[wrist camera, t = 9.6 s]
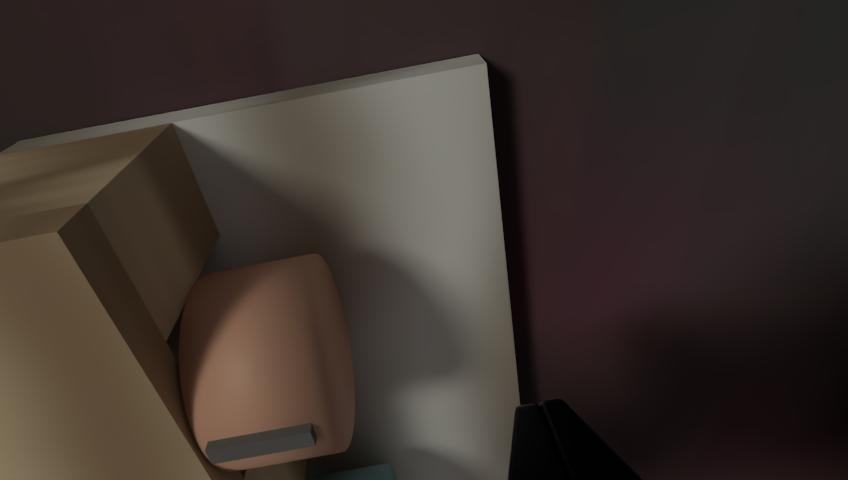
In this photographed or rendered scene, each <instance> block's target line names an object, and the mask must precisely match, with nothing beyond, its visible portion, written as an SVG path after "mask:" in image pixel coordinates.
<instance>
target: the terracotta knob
mask: <svg viewBox="0 0 848 480" xmlns="http://www.w3.org/2000/svg"><path fill="white" fill-rule="evenodd" d="M166 342H167V344H168V346H169V348H170V349H171V351H172V353H173V355H174V356H175V358H176V360H177V362H178V364H179V373H180V384H181V390H182V396H183V402H184V406H185V410H186V414H187V418H188V421H189V424H190V427H191V430H192V432H193V435H194V437H195V440H196V442H197V443H198V445H199V447H200V449H201V451H202V452H203V454H204V455H205V457H206V458H207V459H208V460H209V461H210V462H211V464H212V465H213V466H215V467H216V468H218V469H219V470H222V471H224V472H235V471H241V470H246V469H252V468H257V467H263V466H268V465H274V464H279V463H285V462H291V461H296V460H302V459H307V458H313V457H318V456H324V455H329V454H335V453H340V452H344V451H346V450H347V449H348V447H349V445H350V443H351V439H352V435H353V429H354V419H355V387H354V373H353V363H352V355H351V348H350V341H349V335H348V330H347V325H346V320H345V315H344V311H343V307H342V303H341V299H340V296H339V293H338V289H337V286H336V283H335V281H334V278H333V276H332V273H331V271H330V269H329V267H328V265H327V263H326V262H325V260H324V259H323V258H322V257H321V256H320V255H319V254H316V253H314V254H308V255H303V256H297V257H292V258H287V259H281V260H276V261H270V262H265V263H260V264H254V265H249V266H244V267H238V268H233V269H227V270H222V271H217V272H211V273H208V274H205V275H204V276H202V277H201V278H200V279H199V280H198V281H197V282H196V283H195V285H194V286H193V288H192V290H191V291H190V294H189V296H188V298H187V301H186V303H185V305H184V307H183V309H182V311H181V313H180V315H179V317H178V319H177V321H176V323H175V325H174V327H173V329H172V331H171V333H170V335H169V337H168V339H167V341H166Z"/></svg>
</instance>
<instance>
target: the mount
mask: <svg viewBox="0 0 848 480" xmlns="http://www.w3.org/2000/svg"><path fill="white" fill-rule="evenodd" d="M314 253H316V254H319V255H320V256H321V257H322V258H323V259H324V260H325V262H326V263H327V265H328V267H329V269H330V271H331V273H332V276H333V278H334V281H335V283H336V286H337V289H338V293H339V296H340V299H341V303H342V307H343V311H344V315H345V320H346V325H347V330H348V335H349V341H350V348H351V355H352V363H353V373H354V387H355V419H354V429H353V435H352V439H351V443H350V445H349V447H348V449H347V450H346V451H344V452H340V453H335V454H329V455H324V456H318V457H313V458H307V459H302V460H296V461H291V462H285V463H279V464H274V465H268V466H263V467H257V468H252V469H246V470H241V471H235V472H224V471H222V470H219V469H218V468H216V467H215V466H213V465H212V464H211V462H210V461H209V460H208V459H207V458H206V457H205V455H204V454H203V452H202V451H201V449H200V447H199V445H198V443H197V442H196V440H195V437H194V435H193V432H192V430H191V427H190V424H189V421H188V418H187V414H186V410H185V406H184V402H183V396H182V390H181V384H180V373H179V364H178V362H177V360H176V358H175V356H174V355H173V353H172V351H171V349H170V348H169V346H168V344H167V342H166V341H167V339H168V337H169V335H170V333H171V331H172V329H173V327H174V325H175V323H176V321H177V319H178V317H179V315H180V313H181V311H182V309H183V307H184V305H185V303H186V301H187V298H188V296H189V294H190V291H191V290H192V288H193V286H194V285H195V283H196V282H197V281H198V280H199V279H200V278H201V277H202V276H204V275H205V274H208V273H211V272H217V271H222V270H227V269H233V268H238V267H244V266H249V265H254V264H260V263H265V262H270V261H276V260H281V259H287V258H292V257H297V256H303V255H308V254H314ZM519 405H520V398H519V388H518V377H517V367H516V357H515V347H514V337H513V327H512V317H511V306H510V296H509V286H508V276H507V266H506V256H505V246H504V235H503V225H502V215H501V205H500V195H499V185H498V175H497V164H496V154H495V144H494V134H493V124H492V114H491V104H490V93H489V83H488V73H487V63H486V62H485V61H484V60H483V58H482V57H481V56H480V55H479V54H475V55H470V56H464V57H459V58H454V59H449V60H443V61H438V62H433V63H428V64H422V65H417V66H412V67H406V68H401V69H396V70H391V71H385V72H380V73H375V74H370V75H364V76H359V77H354V78H348V79H343V80H338V81H333V82H327V83H322V84H317V85H312V86H306V87H301V88H296V89H290V90H285V91H280V92H275V93H269V94H264V95H259V96H254V97H248V98H243V99H238V100H233V101H227V102H222V103H217V104H211V105H206V106H201V107H196V108H190V109H185V110H180V111H175V112H169V113H164V114H159V115H153V116H148V117H143V118H138V119H132V120H127V121H122V122H117V123H111V124H106V125H101V126H95V127H90V128H85V129H80V130H74V131H69V132H64V133H59V134H53V135H48V136H43V137H38V138H32V139H27V140H22V141H19V142H17V143H16V144H14V145H12V146H11V147H9V148H7V149H6V150H4V151H2V152H1V153H0V480H311V479H312V478H313V477H314V476H318V475H324V474H329V473H335V472H340V471H346V470H351V469H357V468H363V467H368V466H374V465H379V464H385V463H390V464H391V465H392V467H393V469H394V471H395V474H396V477H397V480H508V472H509V462H510V453H511V443H512V433H513V424H514V414H515V408H516V407H517V406H519Z"/></svg>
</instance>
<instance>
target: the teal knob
mask: <svg viewBox="0 0 848 480" xmlns="http://www.w3.org/2000/svg"><path fill="white" fill-rule="evenodd" d="M311 480H397V477H396V474H395V471H394V469H393V467H392V465H391V464H390V463H385V464H379V465H374V466H368V467H363V468H357V469H351V470H346V471H340V472H335V473H329V474H324V475H318V476H314V477H313V478H312V479H311Z"/></svg>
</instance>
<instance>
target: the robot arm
mask: <svg viewBox="0 0 848 480" xmlns="http://www.w3.org/2000/svg"><path fill="white" fill-rule="evenodd" d="M508 480H642V479H641V478H640V477H639V476H638V475H637V474H636V473H635V472H634V471H633V470H632V469H631V468H630V467H629V466H628V465H627V464H626V463H625V462H624V461H623V460H622V459H621V458H620V457H619V456H618V455H617V454H616V453H615V452H614V451H613V450H612V449H611V448H610V447H609V446H608V445H607V444H606V443H605V442H604V441H603V440H602V439H601V438H600V437H599V436H598V435H597V434H596V433H595V432H594V431H593V430H592V429H591V428H590V427H589V426H588V425H587V424H586V423H585V422H584V421H583V420H582V419H581V418H580V417H579V416H578V415H577V414H576V413H575V412H574V411H573V410H572V409H571V408H570V407H569V406H568V405H567V404H566V403H565V402H564V401H563V400H561V399H555V400H549V401H543V402H540V403H539V405H538V404H536V403H531V404H525V405H519V406H517V407H516V408H515V414H514V424H513V433H512V443H511V453H510V462H509V472H508Z"/></svg>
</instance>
